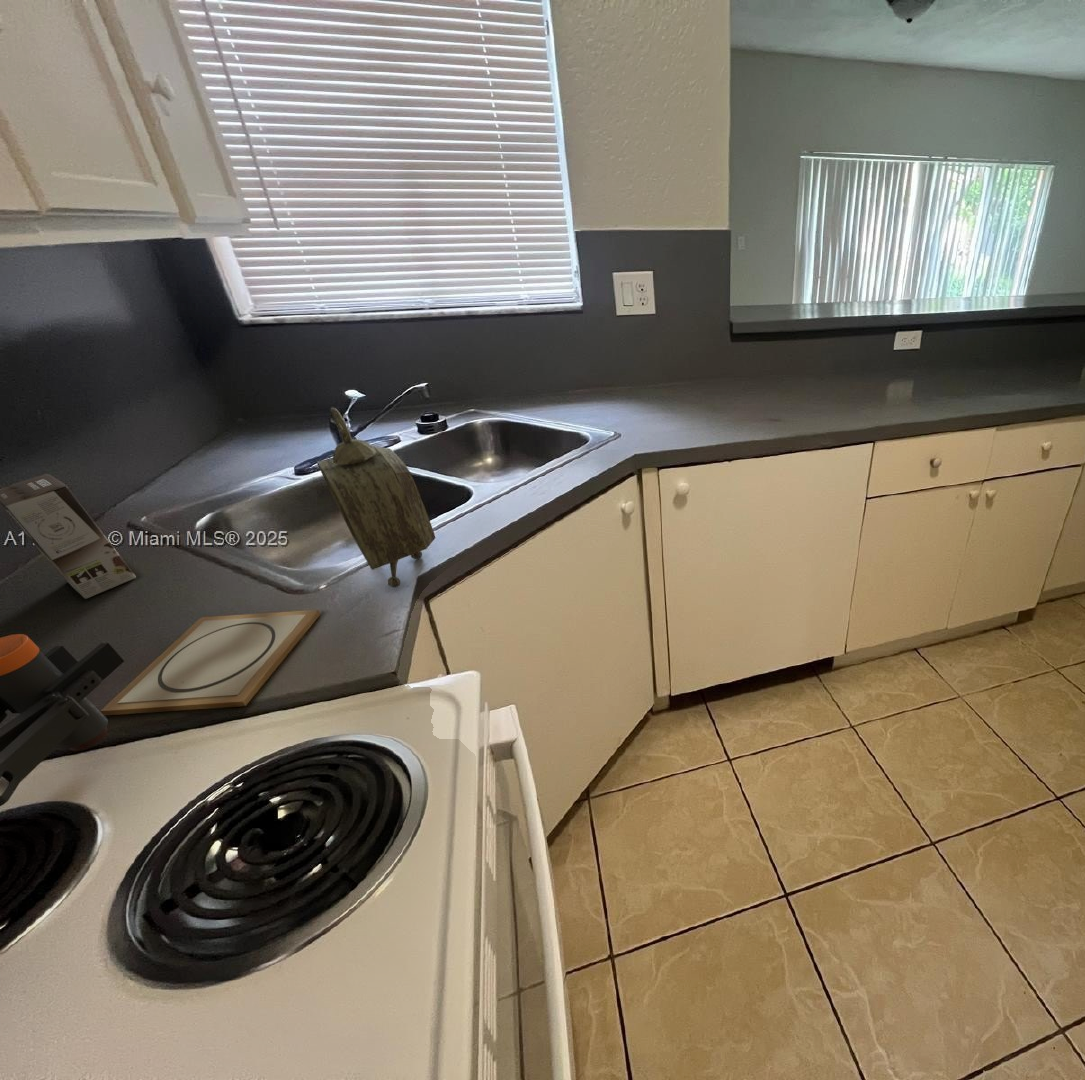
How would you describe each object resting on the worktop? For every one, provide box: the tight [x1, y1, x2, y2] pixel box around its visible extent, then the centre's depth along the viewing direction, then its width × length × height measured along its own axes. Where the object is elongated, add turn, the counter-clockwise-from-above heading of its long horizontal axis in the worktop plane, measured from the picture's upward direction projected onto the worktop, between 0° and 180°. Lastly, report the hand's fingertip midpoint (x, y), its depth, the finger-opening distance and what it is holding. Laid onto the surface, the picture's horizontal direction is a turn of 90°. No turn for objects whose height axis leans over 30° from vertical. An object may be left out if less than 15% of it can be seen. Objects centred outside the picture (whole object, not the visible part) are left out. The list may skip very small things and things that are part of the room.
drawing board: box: [99, 609, 322, 717], centre depth 71 cm, size 16×16×1 cm
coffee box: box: [0, 473, 137, 600], centre depth 83 cm, size 9×6×16 cm
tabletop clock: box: [316, 407, 436, 589], centre depth 80 cm, size 14×9×25 cm, turn 41°
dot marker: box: [0, 633, 109, 752], centre depth 56 cm, size 4×4×13 cm
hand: (89, 654), depth 60 cm, fingers closed on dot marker, 4 cm apart
